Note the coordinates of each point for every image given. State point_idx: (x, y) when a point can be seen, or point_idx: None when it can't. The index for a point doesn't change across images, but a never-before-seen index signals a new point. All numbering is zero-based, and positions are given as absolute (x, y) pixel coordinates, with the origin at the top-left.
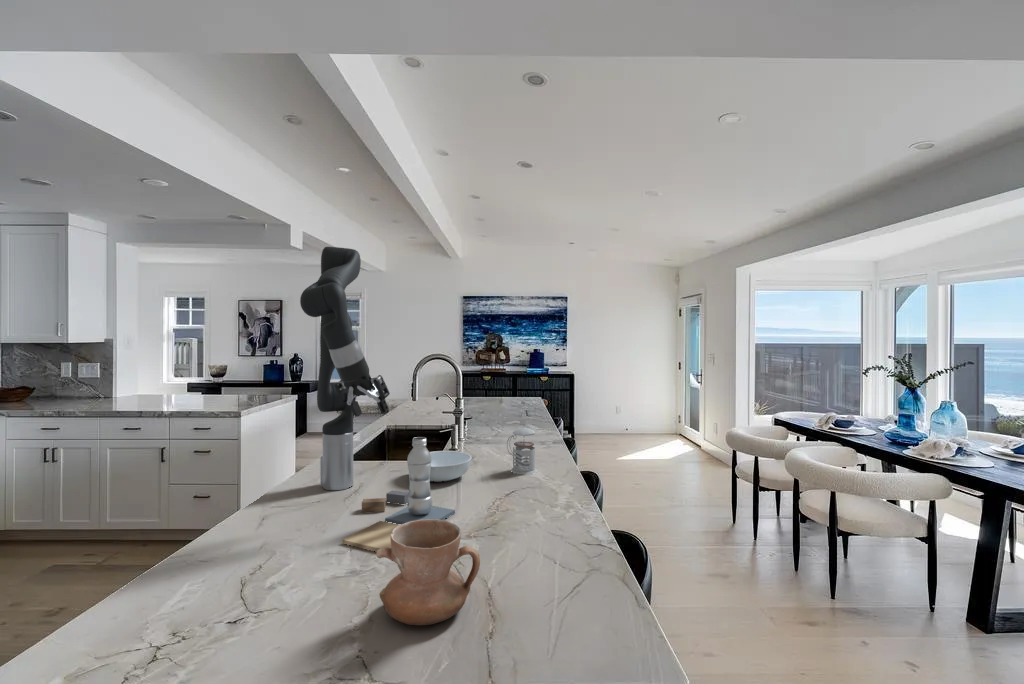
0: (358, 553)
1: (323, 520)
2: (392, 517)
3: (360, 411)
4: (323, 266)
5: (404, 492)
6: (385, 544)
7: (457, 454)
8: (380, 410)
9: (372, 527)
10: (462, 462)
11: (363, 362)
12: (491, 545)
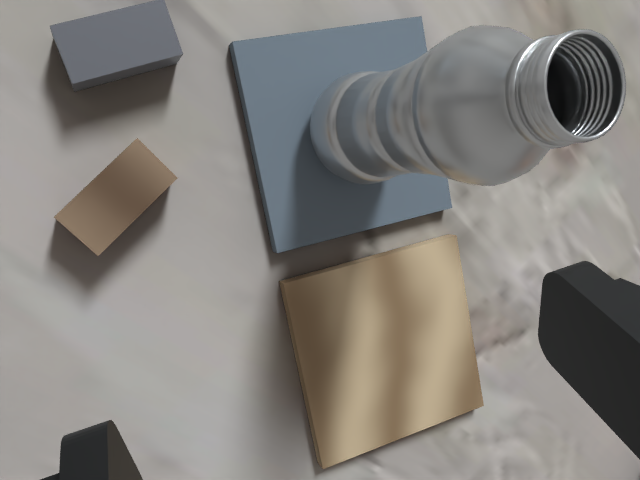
0: (410, 455)
1: (44, 416)
2: (294, 229)
3: (118, 459)
4: None
5: (138, 14)
6: (453, 386)
7: None
8: (586, 392)
9: (316, 341)
10: None
11: None
12: (637, 165)
